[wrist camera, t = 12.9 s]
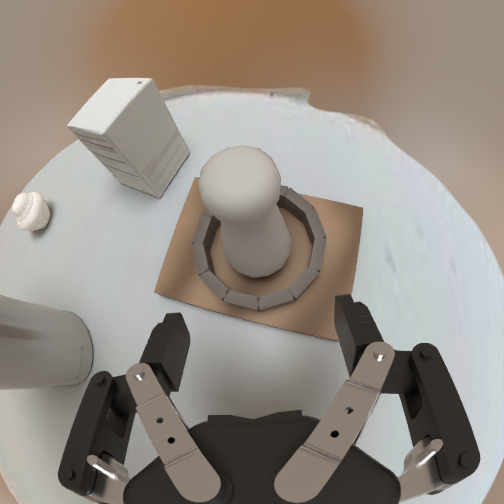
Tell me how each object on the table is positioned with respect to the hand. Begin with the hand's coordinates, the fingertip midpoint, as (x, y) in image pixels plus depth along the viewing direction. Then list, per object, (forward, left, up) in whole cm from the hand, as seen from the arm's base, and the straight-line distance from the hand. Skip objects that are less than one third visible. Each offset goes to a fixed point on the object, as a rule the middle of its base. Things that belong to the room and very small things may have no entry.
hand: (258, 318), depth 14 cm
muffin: (-36, +5, -12) cm, 39 cm away
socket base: (-2, +7, -11) cm, 13 cm away
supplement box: (-18, +15, -12) cm, 26 cm away
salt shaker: (-2, +6, -10) cm, 12 cm away
